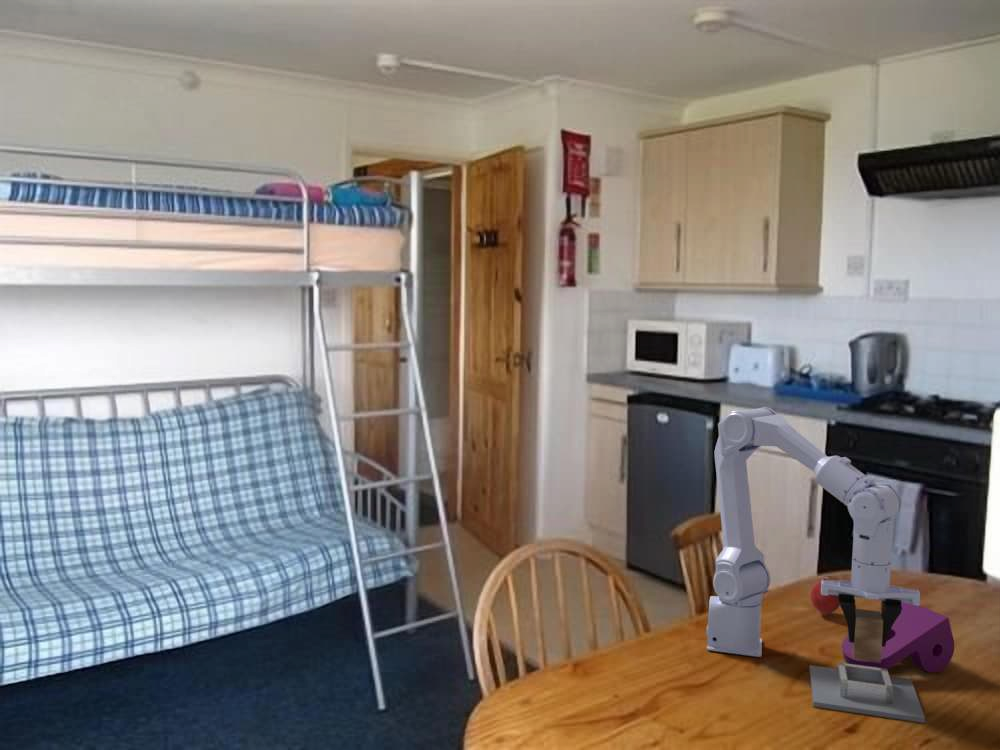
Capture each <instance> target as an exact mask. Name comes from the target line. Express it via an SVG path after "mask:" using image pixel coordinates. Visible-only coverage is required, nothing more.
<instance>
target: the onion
mask: <svg viewBox="0 0 1000 750" xmlns="http://www.w3.org/2000/svg"><path fill="white" fill-rule="evenodd" d="M822 580H829V581H831V579H830V578H829V577H827V576H825V577H823V578H822ZM809 597H810V602H811V604H812V606H813V607H814V608H815V609H816V610H817V612H819V613H820V614H821V615H822V616H826V617H827V616H829V615H830V614H832V613H835V611H837V609H839V607H841V606H840V603H839V599H838V595H830V594H829V595H828V596H826V595H821V581H819V582H817V583H816V584H815V585H814V586H813V588H812V589H811V591H810V595H809Z"/></svg>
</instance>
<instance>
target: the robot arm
mask: <svg viewBox="0 0 1000 750" xmlns="http://www.w3.org/2000/svg"><path fill="white" fill-rule="evenodd" d="M717 429H718V438H717V441H716V444H715V449H714V463H715V473H716V482H717V492H718V501H719V502H718V503H719V512H720V522H721V523H720V524H721V533H722V542H723V549H722V551H721V552H719V555H718V557H717V558H716V559H715V561H714V563H715V571H714V575H713V578H712V579H713V580H712V585H713V588H714V592H715V593H716V595H717V596H715V595H711V596H709V605H708V617H707V618H708V620H707V621H708V622H707V625H706V633H705V634H706V636H707V644H706V645H707V646H706V650H707V651H710V652H711V651H712V652H720V653H727V654H734V655H741V656H748V657H755V658H762V653H763V638H761V626H762V625H761V622H762V600H763V598H764V592H766V591H767V590H768V589H769V588H770V585H771V574H770V573H771V572H770V571H769V569H768V567H767V565H766V562H765V556H764V553H763V552H762V551H761V550H760V549H759V548H757V546H756V544H755V535H754V534H755V533H754V525H753V517H752V516H753V515H752V505H751V495H750V485H749V476H748V475H749V474H748V468H747V467H748V466H747V464H748V463H747V460H748V459H749V458H750V457H751V456H752V455H753V454H754V453H755V451H756V450H758V449H759V448H761V447H775V448H776V447H777V449H779V450H780V451H782V452H784V453H785V454H787V455H788V456H789V457H791V458H793V459H794V460H796V461H797V462H799V463H800V464H801V465H803V466H804V467H806V468H808V469H809V470H811V471H812V472H813V474H814V478H815V479H814V481H815V482H816V484H818V485H819V486H820V487H822V488H823V489H824V490H825V491H827V492H828V493H830V495H832V496H833V497H835V498H836V499H837V500H838V501H840V502H841V503H842V504H843V505H844V506H846V507H847V510H848V512H849V515H850V517H851V518H852V520H853V540H852V556H851V572H850V580H830V581H829V580H823V579H821V581H820V582H821V595H826V596H828V595H829V594H830V595H838V599H839V603H840V606H839V607H840V608H841V610H842V613H843V615H844V618H845V621H846V625H847V634H848V635H847V636H848V638H849V642H852V643H854V636H855V635H854V621H855V611H856V609H857V605H856V599H855V598H857V599H867V600H874V601H875V600H877V601H881V609H880V610H881V611H880V612H881V615H882V618H883V635H882V646H884V647H885V645H886V641H887V637H888V635H889V632H890V630H891V628H892V626H893V624H894V622H895V621H896V619H897V618H898V616H899V615H900V614H901V611H902V606H901V602H902V603H911V604H912V605H916V606H921V605H920V604H921V602H920V601H921V593H920V591H919V590H918V589H912V588H905V587H902V586H897V585H891V583H890V582H891V567H892V565H891V564H892V563H891V562H892V552H893V551H892V549H893V535H894V533H893V531H894V519H893V518H894V517H896V516H897V515H898V514H899V513H900V511H901V508H902V507H901V506H902V499H901V497H900V495H899V493H898V492H897V490H895V489H894V488H893V486H891V484H888V483H885V482H876V480H875V478H874V477H872V476H867V474H864V473H863V472H861V471H860V470H859V469H857V468H856V467H855V466H853V465H852V464H851V462H852V461H851V460H852V459H849V458H848V457H847V456H844V457H843V456H842V457H841V456H839V455H831V456H827V454H825V453H824V452H823V451H822V450H820V449H819V448H818V447H817V446H815V444H813V443H812V442H810V441H809V440H808V439H807V438H806V437H805V436H803V435H802V434H801V433H800V432H798V431H797V430H796V429H795V428H794V427H793V426H792V425H790V424H789V423H788V421H787V420H786V418H785V417H784V416H783V415H780V414H777V412H776V411H775V410H773V408H770V407H767V406H762V407H758V408H751V409H744V410H732V411H729V412H728V413H727V414H726V415H725V416H724V417H723V418H722V419H721V420H720V421H719V422H718V423H717Z"/></svg>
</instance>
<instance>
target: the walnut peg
mask: <svg viewBox="0 0 1000 750" xmlns="http://www.w3.org/2000/svg"><path fill="white" fill-rule="evenodd" d="M854 635H855V636H854V643H852V654H853V658H854V660H862V661H870V662H877V663H881V651H882V635H883V618H882V615H881V611H879V610H869V609H860V608H856V611H855V621H854Z"/></svg>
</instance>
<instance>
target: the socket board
mask: <svg viewBox="0 0 1000 750" xmlns="http://www.w3.org/2000/svg"><path fill="white" fill-rule="evenodd" d="M888 671H889V670H888V669H884V668H876V667H869V666H861V665H854V664H847V663H846V662H837V668H832V667H825V666H817V665H809V678H810V687H811V690H810V691H811V698H812V707H814V708H820V709H825V710H832V711H833V710H835V711H840V712H848V713H854V714H855V713H856V714H860V715H868V716H875V717H881V718H886V719H887V718H888V719H894V720H895V719H896V720H902V721H907V722H915V723H922V724H925V723H926V718H925V714H924V711H923V709H922V708H923V707H922V706H921V704H920V703H921V702H920V700H919V697H918V694H917V692H916V689H915V686H914V684H913V681H912V678H906V677H900V676H899V677H898V676H891V675H890V673H889V672H888Z"/></svg>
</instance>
